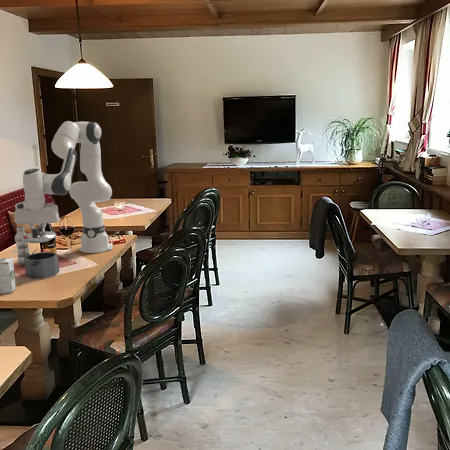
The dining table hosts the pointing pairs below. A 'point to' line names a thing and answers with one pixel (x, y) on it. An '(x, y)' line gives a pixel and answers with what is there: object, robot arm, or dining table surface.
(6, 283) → the syrup box
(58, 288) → the dining table surface
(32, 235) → the lid
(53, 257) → the pot
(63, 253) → the dining table surface
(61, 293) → the dining table surface
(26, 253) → the plastic bottle
